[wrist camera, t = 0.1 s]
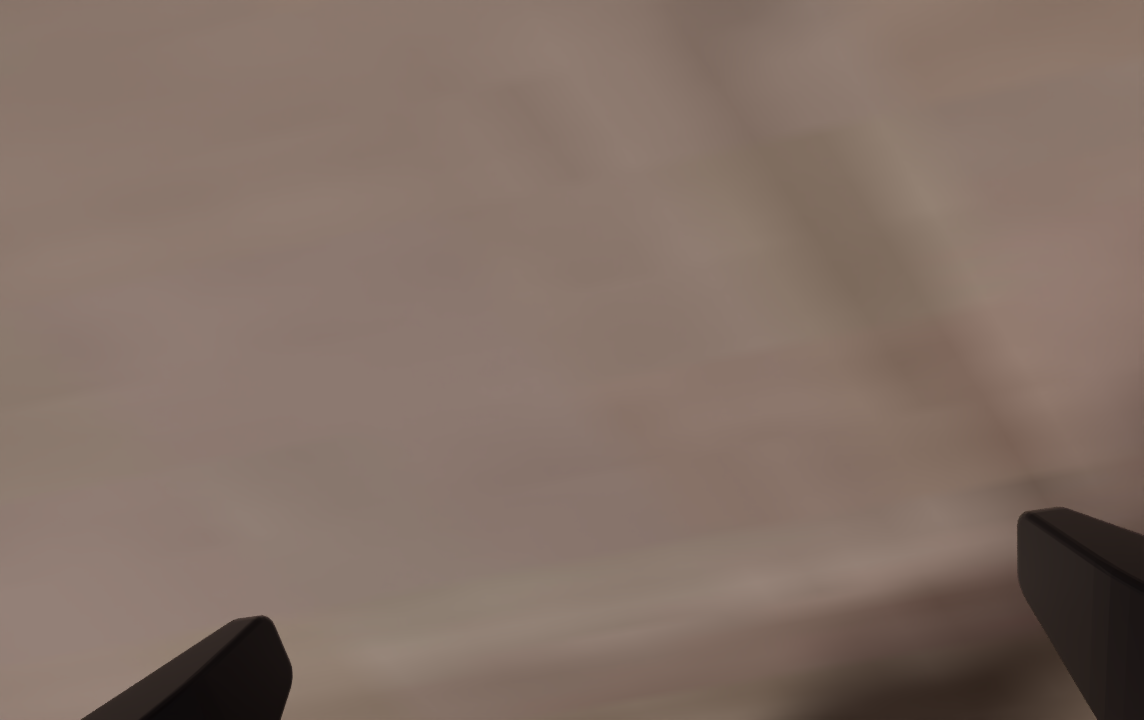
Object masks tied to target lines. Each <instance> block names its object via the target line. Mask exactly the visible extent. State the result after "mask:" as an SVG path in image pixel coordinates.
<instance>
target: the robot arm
mask: <svg viewBox="0 0 1144 720" xmlns="http://www.w3.org/2000/svg"><path fill="white" fill-rule="evenodd" d="M1017 572H1018V580H1019V584H1020V587H1021V590H1022V593H1023V595H1024V597H1025V599H1026V600H1027V602H1028V604H1029V606H1030V607H1031V609H1032V611H1033V612H1034V614H1035V616H1036V617H1037V619H1038V621H1039V622H1040V624H1041V626H1042V628H1043V629H1044V631H1045V633H1046V634H1047V636H1048V638H1049V639H1050V641H1051V643H1052V644H1053V646H1054V648H1055V649H1056V651H1057V653H1058V655H1059V656H1060V658H1061V660H1062V661H1063V663H1064V665H1065V666H1066V668H1067V670H1068V671H1069V673H1070V675H1071V677H1072V678H1073V680H1074V682H1075V683H1076V685H1077V687H1078V688H1079V690H1080V692H1081V693H1082V695H1083V697H1084V698H1085V700H1086V702H1087V704H1088V705H1089V707H1090V708H1091V710H1092V712H1093V713H1094V715H1095V716H1096V718H1097V720H1144V535H1142V534H1139V533H1136V532H1133V531H1130V530H1127V529H1125V528H1122V527H1119V526H1116V525H1113V524H1110V523H1107V522H1105V521H1102V520H1099V519H1096V518H1093V517H1090V516H1087V515H1085V514H1082V513H1079V512H1076V511H1073V510H1070V509H1068V508H1064V507H1053V508H1046V509H1039V510H1032V511H1026V512H1024V513H1023V514H1022V515H1020V517H1019V519H1018V524H1017ZM292 678H293V675H292V666H291V663H290V660H289V658H288V655H287V653H286V651H285V648H284V646H283V644H282V641H281V639H280V637H279V634H278V632H277V630H276V627H275V625H274V623H273V621H272V620H271V619H270V618H268V617H266V616H263V615H261V616H253V617H246V618H239V619H235V620H233V621H231V622H229V623H228V624H226V625H225V626H223V627H222V628H220V629H218V630H217V631H215V632H214V633H212V634H211V635H209V636H208V637H206V638H205V639H203V640H202V641H200V642H199V643H197V644H196V645H194V646H192V647H191V648H189V649H188V650H186V651H185V652H183V653H182V654H180V655H179V656H177V657H176V658H174V659H173V660H171V661H170V662H168V663H167V664H165V665H163V666H162V667H160V668H159V669H157V670H156V671H154V672H153V673H151V674H150V675H148V676H147V677H145V678H144V679H142V680H141V681H139V682H137V683H136V684H134V685H133V686H131V687H130V688H128V689H127V690H125V691H124V692H122V693H121V694H119V695H118V696H116V697H115V698H113V699H112V700H110V701H108V702H107V703H105V704H104V705H102V706H101V707H99V708H98V709H96V710H95V711H93V712H92V713H90V714H89V715H87V716H86V717H84V718H82V719H81V720H281V717H282V714H283V710H284V707H285V704H286V701H287V698H288V695H289V692H290V689H291V685H292Z"/></svg>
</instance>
